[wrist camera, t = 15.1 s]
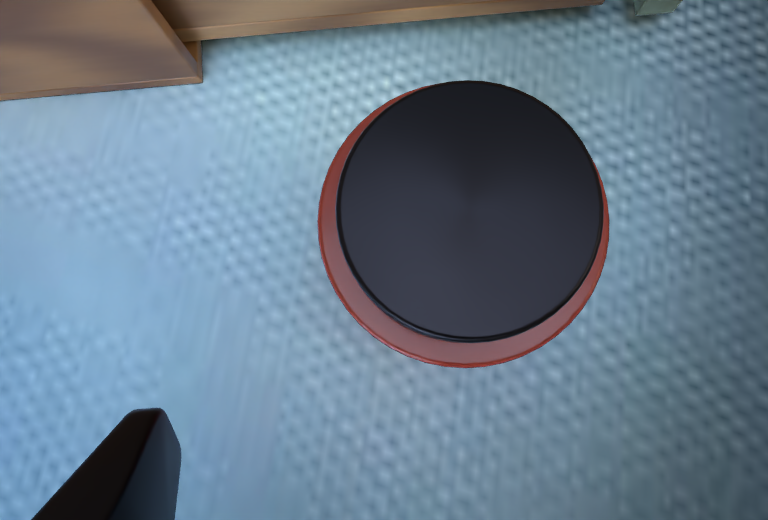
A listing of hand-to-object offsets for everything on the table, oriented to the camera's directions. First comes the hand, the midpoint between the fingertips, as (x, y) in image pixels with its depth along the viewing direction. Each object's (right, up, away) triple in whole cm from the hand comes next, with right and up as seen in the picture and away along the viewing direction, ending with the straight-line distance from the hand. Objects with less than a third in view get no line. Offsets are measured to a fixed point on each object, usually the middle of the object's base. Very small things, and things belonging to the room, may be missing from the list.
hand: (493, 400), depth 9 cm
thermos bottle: (0, +1, +11) cm, 11 cm away
